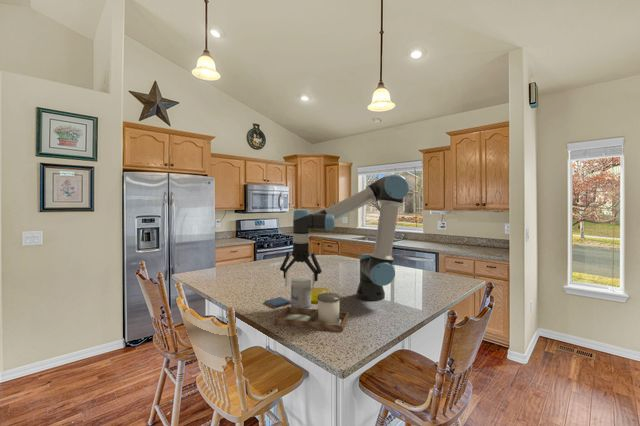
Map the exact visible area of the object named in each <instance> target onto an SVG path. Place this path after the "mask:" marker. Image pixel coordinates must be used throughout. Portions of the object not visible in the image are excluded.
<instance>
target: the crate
mask: <svg viewBox="0 0 640 426" xmlns="http://www.w3.org/2000/svg"><path fill="white" fill-rule="evenodd" d="M290 313H292V314H290ZM293 313H294V314H293ZM289 314H290V315H289ZM309 315H311V316H309ZM340 318H343V320H341V319H340ZM349 318H350V312H348V311H339V324H328V323H319V322H318V308H317V309H316V308H310V309H308V308H297V307H291V306H287V307H286V308H285V309H283V310H282V311H281V312H280V313H279V314H278V315H277V316H276V317H275V318H274V326H275V327H276V326H277V325H283V326H291V327H298V328H299V327H300V328H306V329H307V328H309V329H316V330H324V331H325V330H326V331H335V332H343V331H344V329H345V327H346V325H347V323H348V320H349ZM315 319H316V320H315Z"/></svg>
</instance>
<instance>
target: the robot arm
mask: <svg viewBox="0 0 640 426" xmlns="http://www.w3.org/2000/svg"><path fill="white" fill-rule="evenodd" d="M409 189H410V185H409V183H408V180H407V179H406V178H405V177H404V176H403V175H400V174H390V175H387V176H383V177H380V178H379V179H377V180H375V181H374V182H372V183H371V184H369V185H366V186H365V189H363V190H360V191H359V192H357V193H354V194H353V195H351V196H348V197H346V198H344V199H343V200H340V201H339V202H336V203H334V204H332V205H330V206H329V207H326V208H324V209H322V210H320V211H318V212H314V213H310V211H309V210H308V209H295V210H294V211H293V220H292V228H293V229H292V232H293V233H292V242H293V243H292V252H291V251H290V250H288V251H286V255H285V258H284V259H283V262H282V264H281V266H280V268H279V270H280V271H281V272H283V279H284V280H285V284H284V286H285V287H287V286H289V285H290V272H289V269H290V268H291V267H292V266H293V265H294V263H296V262H297V263H305V264H306V265H307V267H308V268H309V269H310V270H311V271H312V273H313V274H312V285H311V288H312V289H314V288H317V287H316V285H317V283H316V282H318V279H319V274H321V273H322V271H323V270H322V269H321V266H320V263H319V262H318V259H317V258H316V257H317V256H316V253H315V252H312V253H310V252H309V251H310V243H309V241H310V231H315V230H317V231H331V230H333V229H334V228H335V222H336V220H338V219H340V218H342V217H344V216H346V215H348V214H350V213H351V212H355V211H356V210H358V209H360V208H362V207H365V206H366V205H368V204H371V203H377V202H379V204H381V205H380V210H379V218H378V224H377V231H376V235H375V243H374V249H373V252H372V253H362V254H360V256H359V260H358V261H359V283H358V285H357V288H356V292H355V293H356V294H355V295H356V297H357V298H358V299H361V300H365V301H380V300H381V301H382V300H383V299H385V297H386V293H385V289H384V286H387V285H390V284H391V283H393V281H394V280H395V276H396V271H395V270H396V269H395V268H394V261H395V259H394V257H393V256H392V252H393V245H394V239H395V233H396V228H397V227H396V226H397V221H398V214H399V208H400V207H401V206H402V205H403V202H404V198H405V197H406V196H407V195H408V193H409ZM291 256H292V257H293V258H292V260H291V261H290V262H289V260H290V257H291ZM309 257H310V258H311V260H310V259H309ZM311 261H312V262H311ZM287 263H288V265H287ZM313 264H314V265H313Z"/></svg>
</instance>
